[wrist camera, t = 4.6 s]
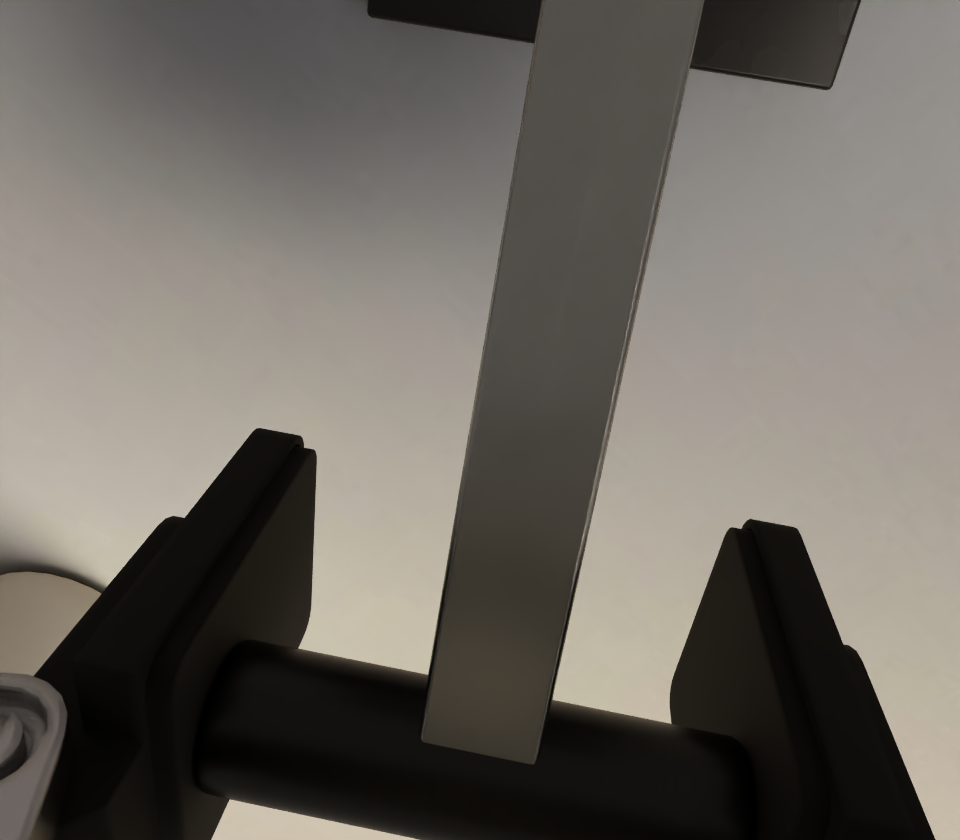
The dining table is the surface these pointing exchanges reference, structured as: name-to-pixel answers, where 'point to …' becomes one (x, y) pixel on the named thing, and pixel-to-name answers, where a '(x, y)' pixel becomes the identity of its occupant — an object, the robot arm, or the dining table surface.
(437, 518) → the dining table surface
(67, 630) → the milk bottle
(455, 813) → the lever
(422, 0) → the bracket
